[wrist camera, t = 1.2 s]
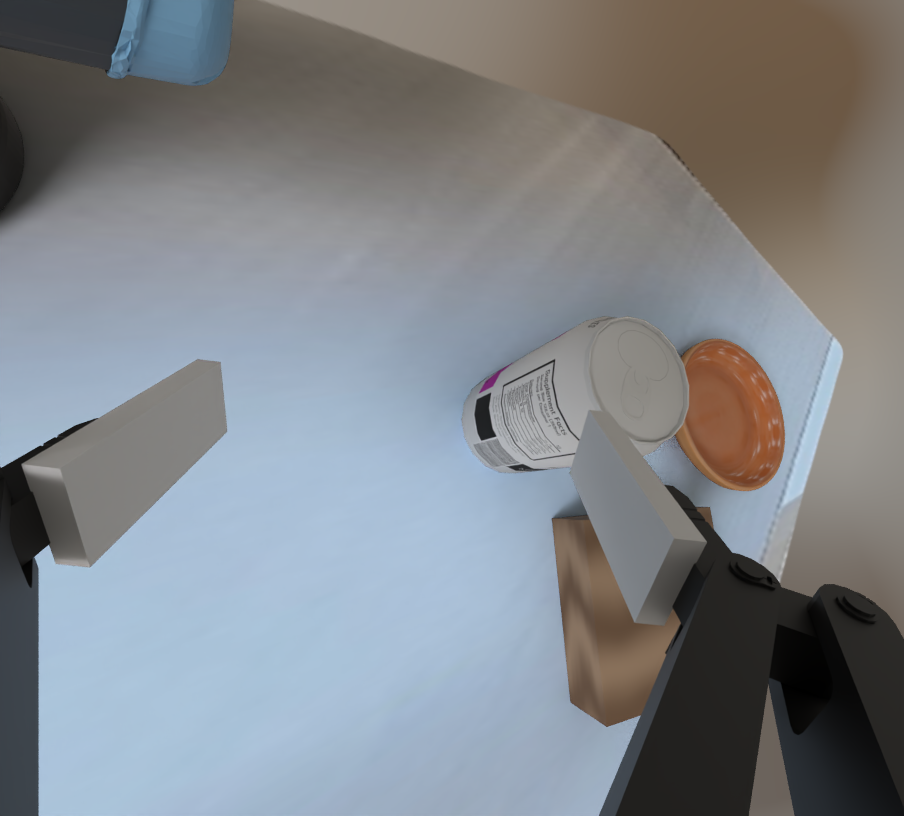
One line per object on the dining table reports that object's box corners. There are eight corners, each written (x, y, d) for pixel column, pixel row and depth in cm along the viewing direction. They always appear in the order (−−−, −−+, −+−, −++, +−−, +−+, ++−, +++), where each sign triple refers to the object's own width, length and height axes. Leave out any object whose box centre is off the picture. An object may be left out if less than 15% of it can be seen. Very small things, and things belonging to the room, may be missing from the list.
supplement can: (475, 362, 36) (597, 279, 23) (553, 402, 38) (706, 349, 25) (444, 450, 34) (561, 415, 20) (529, 488, 36) (686, 480, 22)
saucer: (712, 326, 50) (738, 316, 47) (777, 445, 50) (806, 442, 47) (629, 383, 43) (654, 376, 40) (705, 521, 43) (734, 523, 40)
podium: (552, 518, 36) (583, 520, 32) (671, 506, 41) (710, 507, 38) (570, 702, 33) (606, 726, 30) (696, 664, 39) (739, 681, 35)
